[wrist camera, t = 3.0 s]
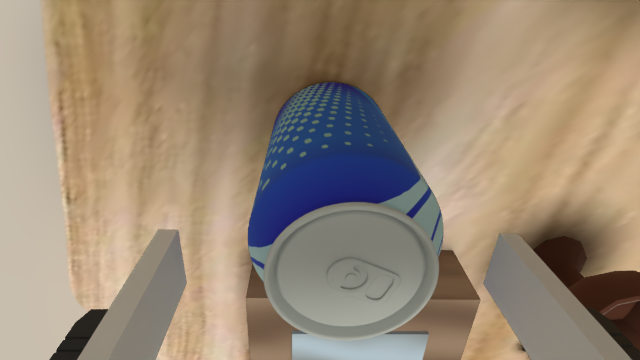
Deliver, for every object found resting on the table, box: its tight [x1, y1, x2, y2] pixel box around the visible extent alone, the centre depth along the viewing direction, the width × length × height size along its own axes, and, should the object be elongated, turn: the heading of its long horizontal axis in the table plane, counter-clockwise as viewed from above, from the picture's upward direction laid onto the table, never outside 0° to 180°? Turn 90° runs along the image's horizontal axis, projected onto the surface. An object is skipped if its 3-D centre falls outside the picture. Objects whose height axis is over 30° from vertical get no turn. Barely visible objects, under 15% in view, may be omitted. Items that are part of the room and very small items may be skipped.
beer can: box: [248, 82, 443, 340], centre depth 21 cm, size 8×8×16 cm
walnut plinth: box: [246, 251, 480, 360], centre depth 34 cm, size 18×18×6 cm
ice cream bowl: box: [533, 237, 640, 351], centre depth 28 cm, size 11×11×15 cm
